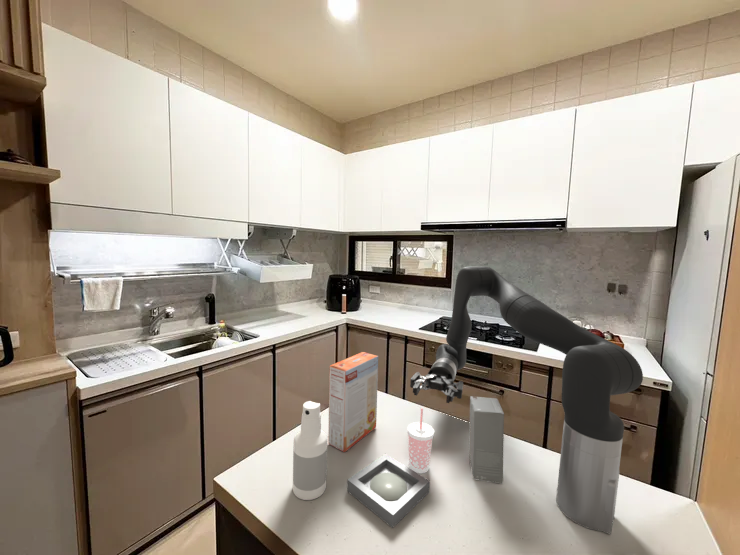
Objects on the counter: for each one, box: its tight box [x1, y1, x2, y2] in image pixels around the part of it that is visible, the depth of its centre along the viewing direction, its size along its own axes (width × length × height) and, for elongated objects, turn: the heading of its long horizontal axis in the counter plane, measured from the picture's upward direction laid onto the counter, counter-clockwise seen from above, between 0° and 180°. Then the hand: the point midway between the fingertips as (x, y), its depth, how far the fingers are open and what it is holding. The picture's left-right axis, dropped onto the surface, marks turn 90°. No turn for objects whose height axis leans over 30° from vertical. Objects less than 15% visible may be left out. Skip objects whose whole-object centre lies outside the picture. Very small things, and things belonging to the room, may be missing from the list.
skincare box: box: [468, 395, 505, 484], centre depth 72 cm, size 8×7×16 cm
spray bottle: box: [292, 400, 328, 501], centre depth 64 cm, size 7×7×18 cm
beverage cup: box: [407, 407, 435, 474], centre depth 72 cm, size 6×6×14 cm
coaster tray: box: [346, 453, 431, 529], centre depth 64 cm, size 12×12×2 cm
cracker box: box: [327, 351, 379, 453], centre depth 82 cm, size 14×6×21 cm, turn 144°
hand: (431, 395), depth 82 cm, fingers open, 8 cm apart
